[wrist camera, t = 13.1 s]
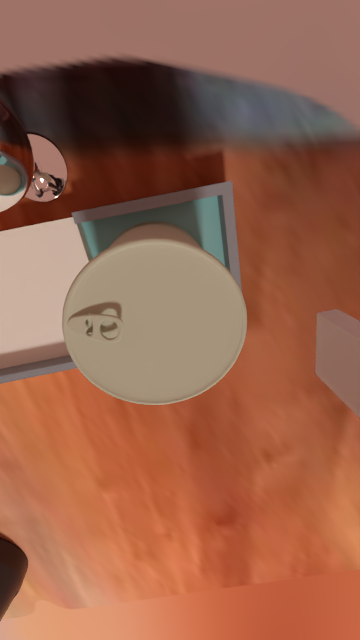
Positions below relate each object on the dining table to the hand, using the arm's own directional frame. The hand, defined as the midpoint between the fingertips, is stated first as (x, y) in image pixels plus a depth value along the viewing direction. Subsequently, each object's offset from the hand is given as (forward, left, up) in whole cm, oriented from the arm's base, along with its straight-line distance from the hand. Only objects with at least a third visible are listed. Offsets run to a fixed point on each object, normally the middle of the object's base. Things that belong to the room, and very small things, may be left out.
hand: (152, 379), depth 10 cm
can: (0, 0, -15) cm, 15 cm away
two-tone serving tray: (-6, 0, -15) cm, 16 cm away
